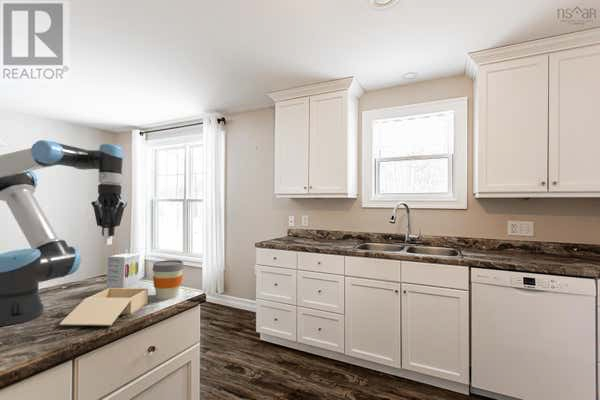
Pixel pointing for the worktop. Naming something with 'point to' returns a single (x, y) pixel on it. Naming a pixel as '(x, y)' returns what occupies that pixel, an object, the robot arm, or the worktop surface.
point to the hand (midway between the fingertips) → (107, 244)
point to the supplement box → (123, 271)
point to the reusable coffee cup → (167, 278)
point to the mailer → (137, 297)
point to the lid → (96, 311)
